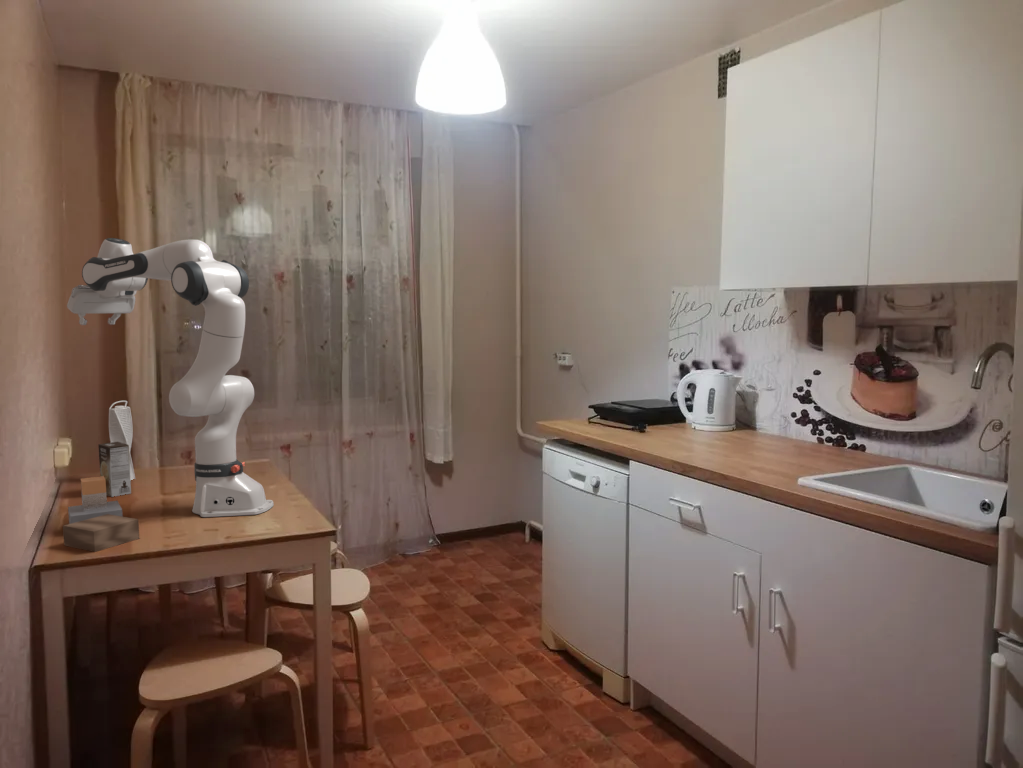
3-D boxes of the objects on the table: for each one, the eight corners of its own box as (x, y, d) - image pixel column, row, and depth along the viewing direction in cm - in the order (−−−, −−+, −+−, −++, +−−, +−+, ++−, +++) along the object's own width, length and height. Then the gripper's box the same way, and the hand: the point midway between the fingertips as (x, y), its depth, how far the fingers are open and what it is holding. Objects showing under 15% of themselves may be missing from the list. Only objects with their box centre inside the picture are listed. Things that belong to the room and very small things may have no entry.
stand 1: (118, 518, 212) (117, 500, 212) (123, 527, 202) (122, 509, 202) (69, 524, 206) (68, 506, 205) (71, 535, 196) (70, 516, 195)
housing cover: (104, 488, 207) (103, 476, 207) (106, 492, 202) (105, 479, 202) (81, 491, 204) (80, 478, 204) (82, 495, 199) (82, 482, 199)
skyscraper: (118, 479, 265) (113, 400, 262) (140, 479, 265) (136, 400, 262) (104, 484, 257) (99, 403, 254) (127, 484, 256) (122, 402, 254)
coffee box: (100, 493, 243) (97, 443, 242) (121, 489, 248) (118, 441, 246) (111, 497, 237) (108, 447, 235) (132, 493, 242) (129, 444, 240)
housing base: (105, 504, 207) (104, 488, 207) (107, 508, 203) (106, 492, 202) (82, 507, 204) (81, 491, 204) (83, 511, 200) (82, 495, 199)
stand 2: (108, 532, 198) (107, 514, 197) (139, 538, 192) (138, 519, 192) (64, 545, 187) (62, 525, 187) (95, 551, 182) (93, 531, 181)
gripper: (79, 289, 230) (69, 329, 234) (141, 291, 247) (131, 328, 252) (68, 280, 232) (59, 319, 237) (130, 282, 250) (121, 319, 254)
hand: (96, 324), depth 244 cm, fingers open, 8 cm apart
